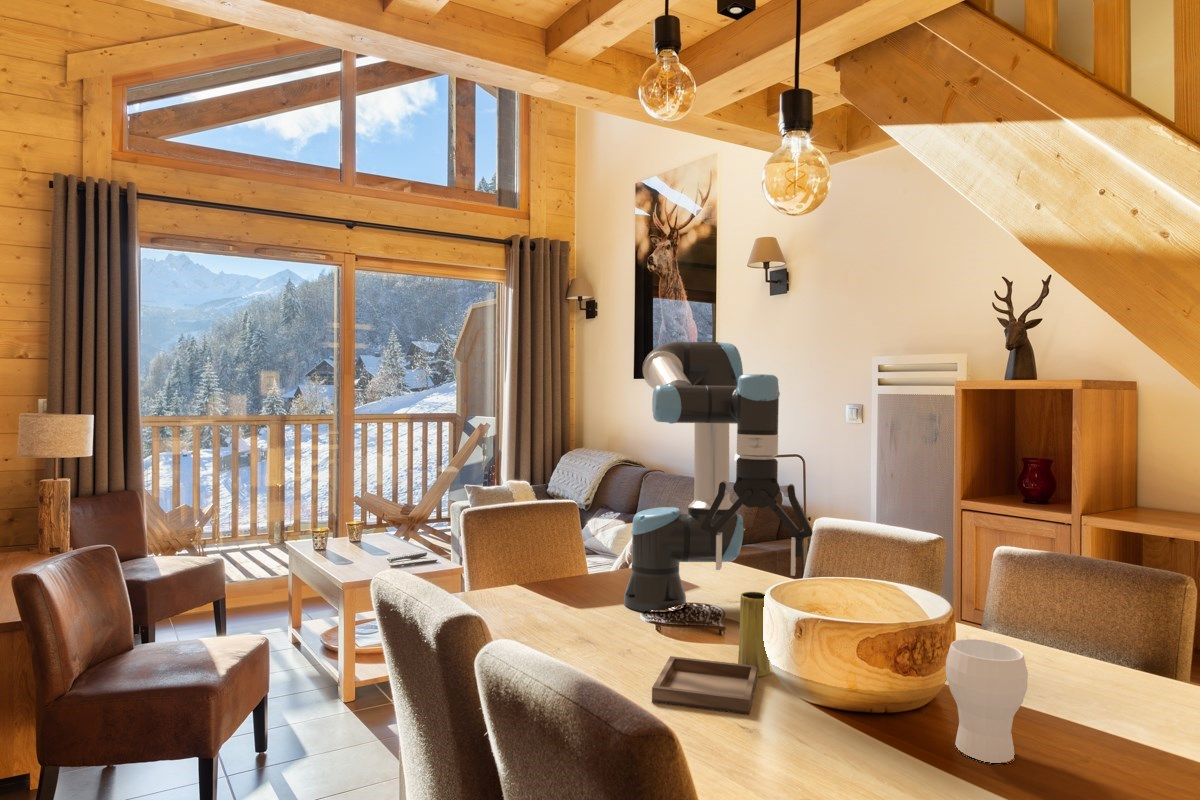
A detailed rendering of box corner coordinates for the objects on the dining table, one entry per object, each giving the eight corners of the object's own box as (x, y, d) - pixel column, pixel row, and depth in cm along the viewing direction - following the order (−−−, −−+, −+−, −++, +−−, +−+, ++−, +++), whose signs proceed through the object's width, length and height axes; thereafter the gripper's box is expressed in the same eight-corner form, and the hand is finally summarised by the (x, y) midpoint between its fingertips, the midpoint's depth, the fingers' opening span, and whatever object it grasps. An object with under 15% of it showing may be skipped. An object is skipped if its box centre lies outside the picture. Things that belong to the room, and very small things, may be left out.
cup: (930, 736, 115) (932, 638, 115) (997, 734, 116) (998, 637, 116) (970, 771, 105) (972, 662, 105) (1043, 768, 106) (1045, 661, 106)
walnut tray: (670, 669, 142) (670, 656, 142) (757, 679, 137) (757, 665, 137) (651, 702, 127) (652, 687, 127) (749, 715, 122) (749, 699, 122)
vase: (772, 668, 143) (773, 592, 143) (768, 679, 138) (769, 601, 138) (739, 663, 145) (740, 589, 145) (734, 674, 140) (735, 597, 140)
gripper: (687, 456, 141) (685, 570, 141) (827, 461, 134) (825, 581, 134) (693, 453, 148) (692, 562, 148) (826, 458, 141) (825, 572, 141)
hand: (755, 571), depth 141 cm, fingers open, 13 cm apart
